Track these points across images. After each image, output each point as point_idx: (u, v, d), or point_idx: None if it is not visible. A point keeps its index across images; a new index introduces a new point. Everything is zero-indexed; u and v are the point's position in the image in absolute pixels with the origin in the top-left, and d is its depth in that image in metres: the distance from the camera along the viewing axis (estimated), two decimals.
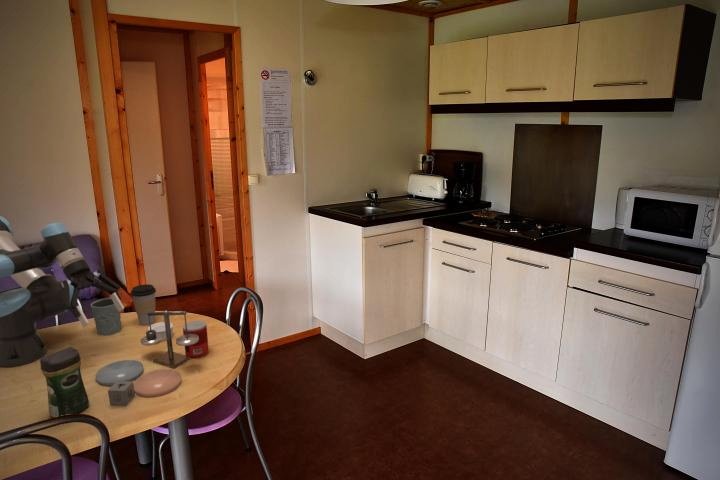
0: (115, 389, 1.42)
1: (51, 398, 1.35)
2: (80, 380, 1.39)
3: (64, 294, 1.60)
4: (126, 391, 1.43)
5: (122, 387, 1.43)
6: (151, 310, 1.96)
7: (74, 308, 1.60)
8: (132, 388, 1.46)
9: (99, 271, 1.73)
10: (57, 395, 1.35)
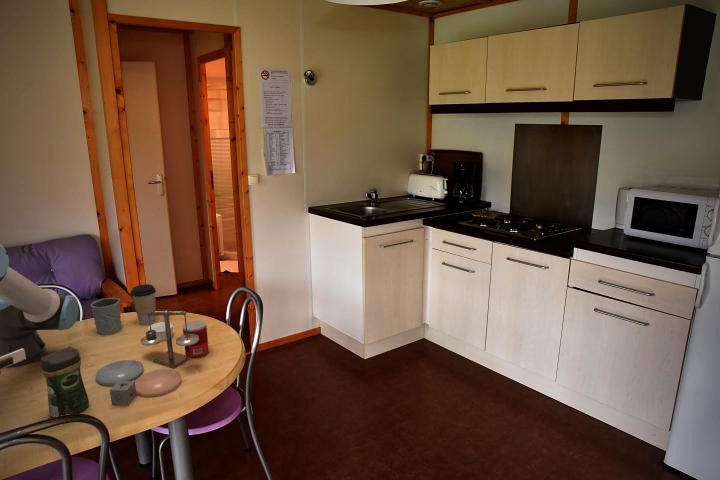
0: (117, 389, 1.43)
1: (51, 398, 1.35)
2: (80, 380, 1.39)
3: None
4: (128, 391, 1.43)
5: (124, 387, 1.44)
6: (151, 310, 1.96)
7: None
8: (134, 388, 1.46)
9: None
10: (57, 395, 1.35)
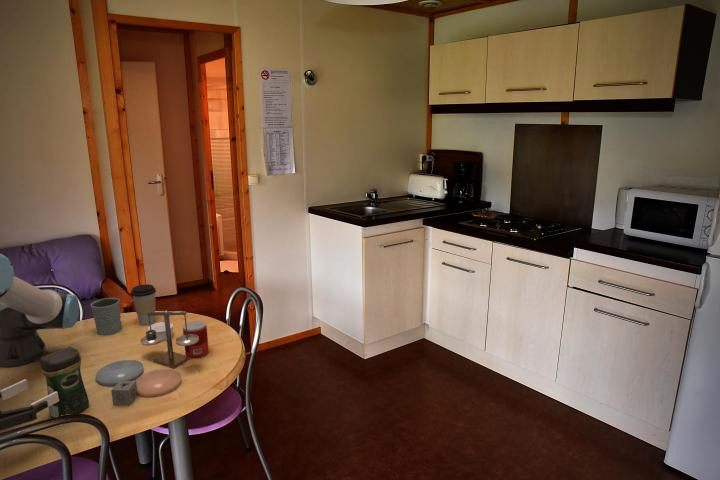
0: (118, 389, 1.43)
1: None
2: (80, 380, 1.39)
3: None
4: (129, 391, 1.43)
5: (125, 387, 1.44)
6: (151, 310, 1.96)
7: None
8: (135, 388, 1.46)
9: None
10: None
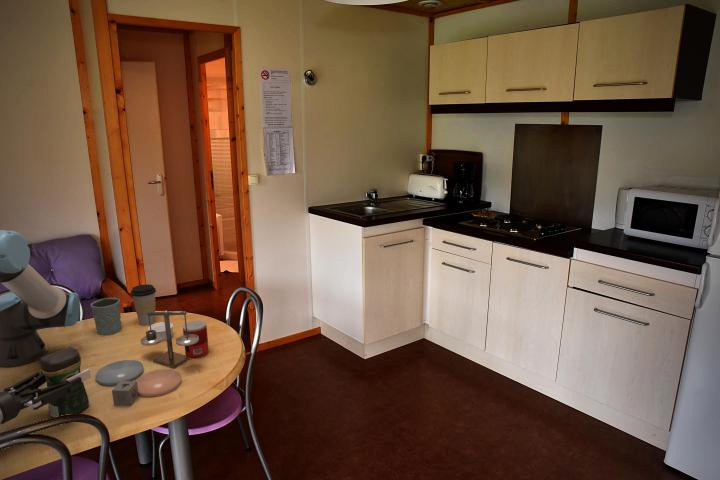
0: (119, 389, 1.42)
1: None
2: None
3: None
4: (130, 391, 1.43)
5: (126, 387, 1.43)
6: (151, 310, 1.96)
7: None
8: (136, 388, 1.46)
9: None
10: None
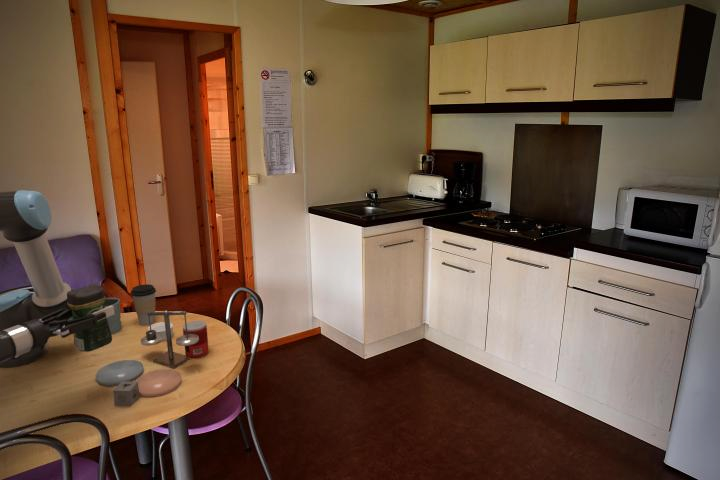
0: (120, 389, 1.42)
1: None
2: None
3: None
4: (131, 391, 1.43)
5: (127, 387, 1.43)
6: (151, 310, 1.96)
7: None
8: (137, 388, 1.46)
9: None
10: None
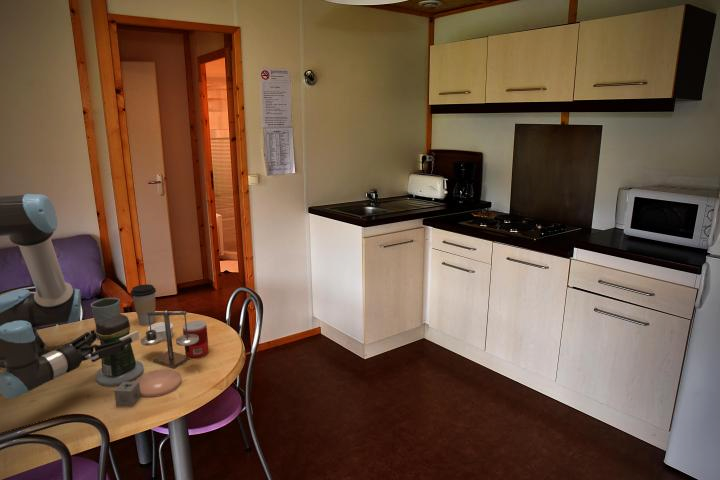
0: (121, 390, 1.42)
1: (105, 358, 1.54)
2: None
3: None
4: (132, 392, 1.42)
5: (128, 388, 1.43)
6: (151, 310, 1.96)
7: None
8: (138, 389, 1.46)
9: None
10: (110, 356, 1.53)
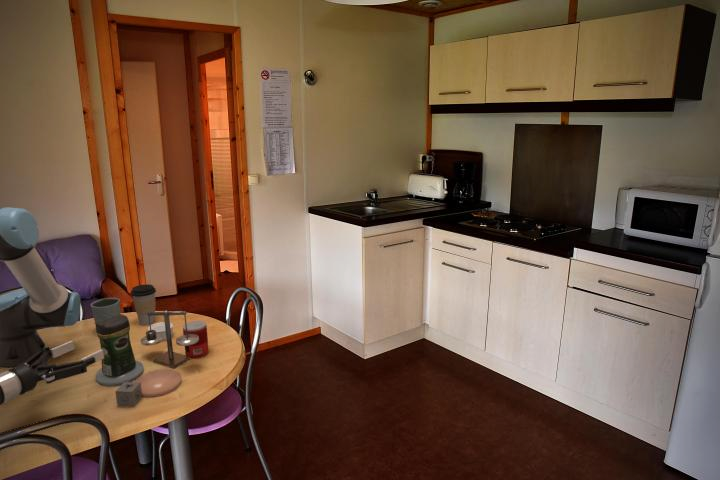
0: (122, 390, 1.42)
1: (105, 358, 1.54)
2: (129, 343, 1.58)
3: None
4: (133, 392, 1.42)
5: (129, 388, 1.43)
6: (151, 310, 1.96)
7: None
8: (139, 389, 1.46)
9: None
10: (110, 355, 1.53)
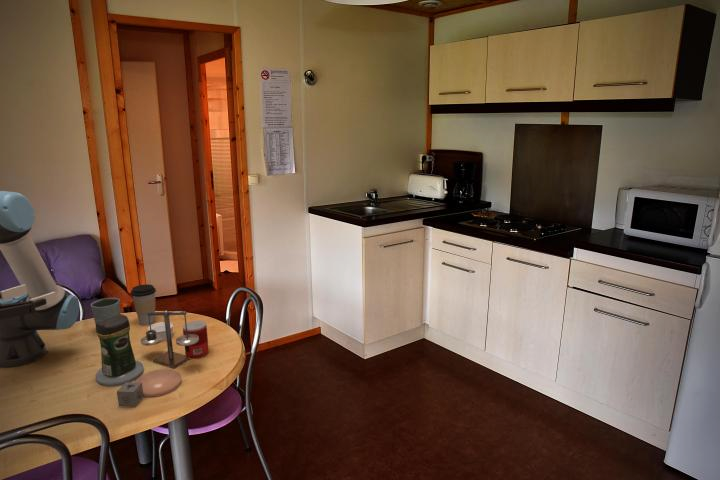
0: (124, 390, 1.42)
1: (105, 358, 1.54)
2: (129, 343, 1.58)
3: None
4: (135, 392, 1.42)
5: (131, 388, 1.43)
6: (151, 310, 1.96)
7: None
8: (141, 389, 1.46)
9: None
10: (110, 355, 1.53)
